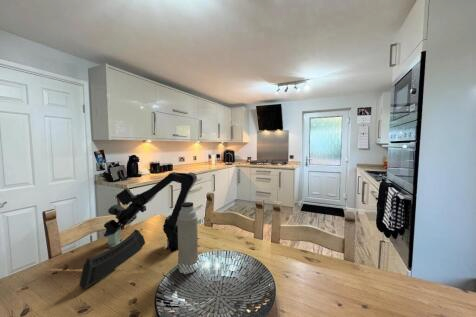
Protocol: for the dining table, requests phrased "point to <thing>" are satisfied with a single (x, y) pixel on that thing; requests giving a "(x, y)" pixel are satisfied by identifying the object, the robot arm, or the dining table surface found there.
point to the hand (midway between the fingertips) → (110, 232)
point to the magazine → (110, 259)
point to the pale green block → (114, 238)
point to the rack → (109, 245)
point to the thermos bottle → (187, 235)
